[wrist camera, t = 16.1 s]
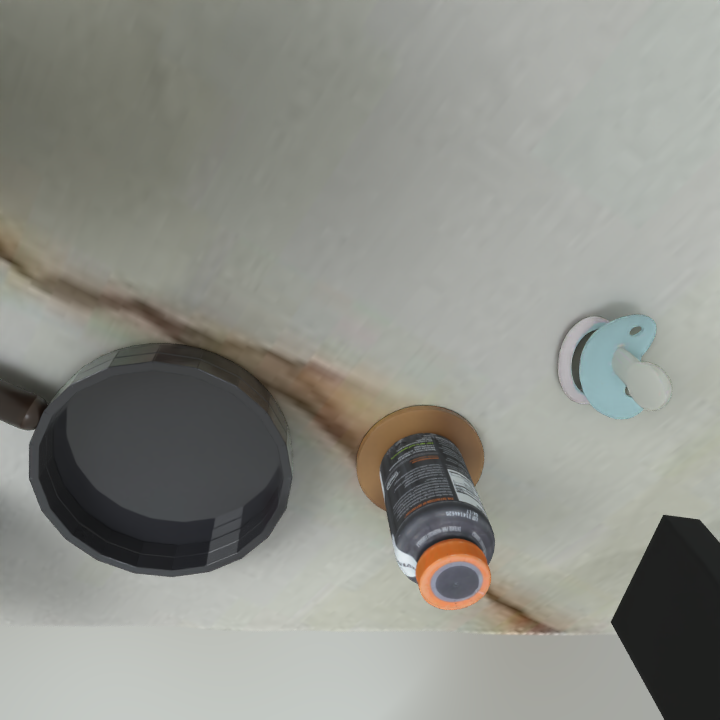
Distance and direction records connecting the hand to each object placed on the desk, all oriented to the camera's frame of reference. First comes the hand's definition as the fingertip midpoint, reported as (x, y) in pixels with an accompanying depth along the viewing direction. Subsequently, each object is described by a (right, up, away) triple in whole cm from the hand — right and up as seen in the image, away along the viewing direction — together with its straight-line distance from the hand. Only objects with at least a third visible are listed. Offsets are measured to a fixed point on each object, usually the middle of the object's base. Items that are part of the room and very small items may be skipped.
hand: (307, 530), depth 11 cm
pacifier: (+17, +3, +32) cm, 36 cm away
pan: (-12, -3, +32) cm, 34 cm away
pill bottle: (+5, -4, +34) cm, 34 cm away
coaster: (+5, -4, +34) cm, 35 cm away
